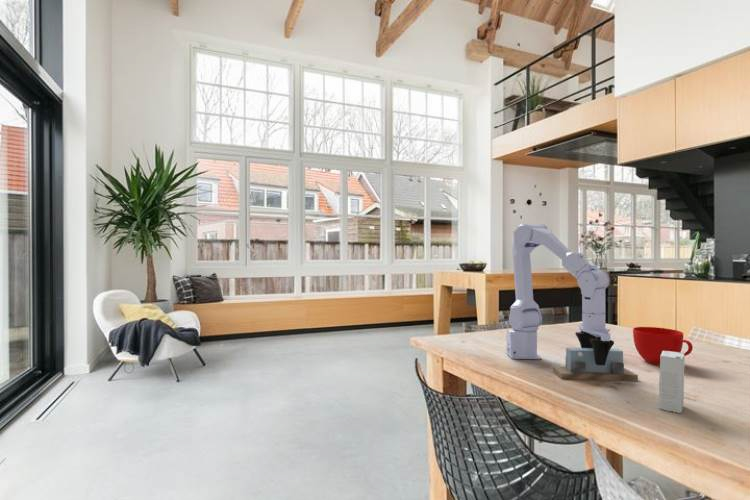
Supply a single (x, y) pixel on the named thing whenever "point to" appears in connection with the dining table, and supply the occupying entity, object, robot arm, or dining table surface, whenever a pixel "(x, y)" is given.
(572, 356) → the pale blue rectangular block
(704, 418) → the dining table surface
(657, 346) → the ceramic cup
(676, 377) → the skincare box
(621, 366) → the rail
